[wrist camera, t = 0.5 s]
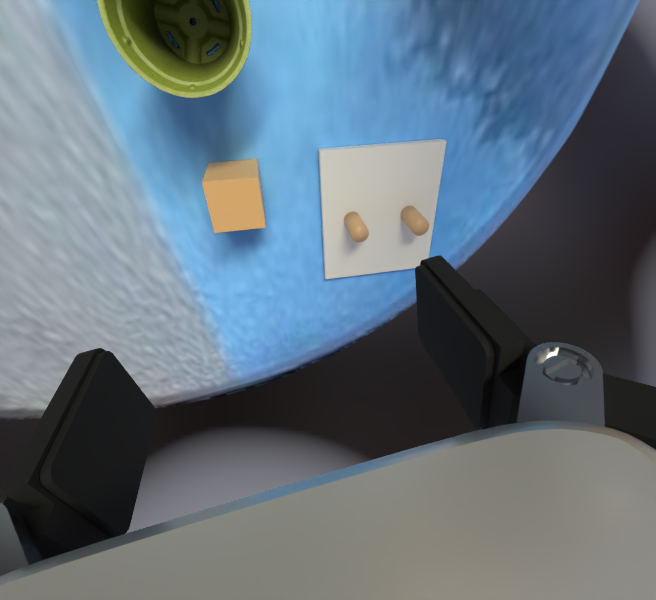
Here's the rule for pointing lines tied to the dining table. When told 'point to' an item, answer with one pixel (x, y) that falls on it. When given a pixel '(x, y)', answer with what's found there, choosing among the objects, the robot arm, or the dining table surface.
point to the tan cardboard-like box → (234, 195)
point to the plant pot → (181, 41)
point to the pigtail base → (378, 205)
